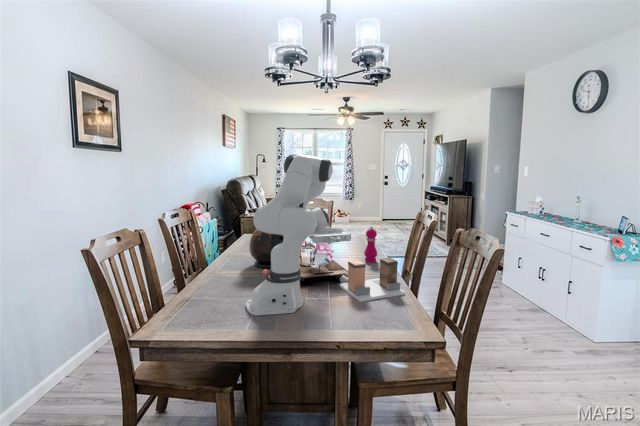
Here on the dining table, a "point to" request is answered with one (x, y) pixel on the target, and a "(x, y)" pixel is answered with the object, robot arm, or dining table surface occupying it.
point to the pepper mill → (371, 246)
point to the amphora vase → (263, 247)
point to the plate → (374, 290)
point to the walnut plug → (388, 271)
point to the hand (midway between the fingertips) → (337, 240)
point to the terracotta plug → (356, 274)
